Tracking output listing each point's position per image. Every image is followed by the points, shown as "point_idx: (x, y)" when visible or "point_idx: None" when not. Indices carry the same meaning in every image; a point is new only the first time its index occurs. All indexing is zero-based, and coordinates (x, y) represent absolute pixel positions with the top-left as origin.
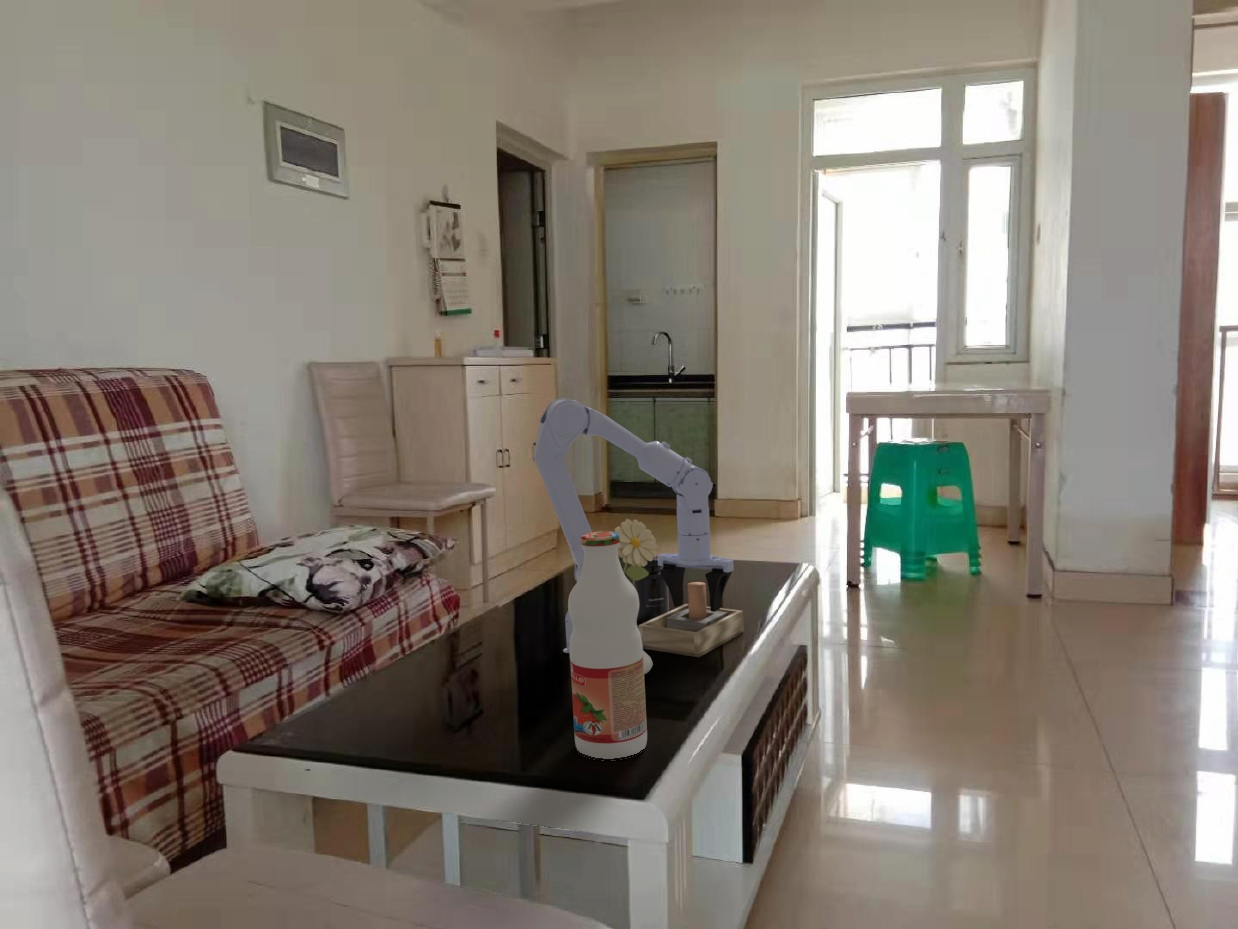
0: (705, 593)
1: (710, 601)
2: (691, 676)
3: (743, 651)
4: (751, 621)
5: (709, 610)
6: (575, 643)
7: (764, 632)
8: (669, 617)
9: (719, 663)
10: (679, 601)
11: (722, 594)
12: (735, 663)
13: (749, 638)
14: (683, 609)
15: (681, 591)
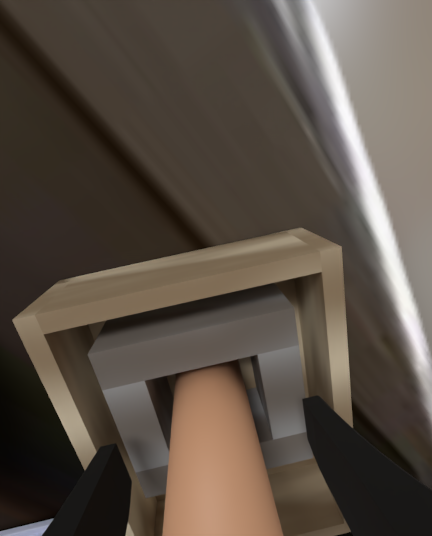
0: (269, 489)
1: (335, 494)
2: None
3: (398, 366)
4: (233, 70)
5: (202, 334)
6: None
7: (363, 177)
8: (146, 487)
9: (390, 456)
10: (120, 487)
11: (373, 448)
12: (423, 435)
13: (352, 267)
14: (62, 359)
15: (93, 521)
